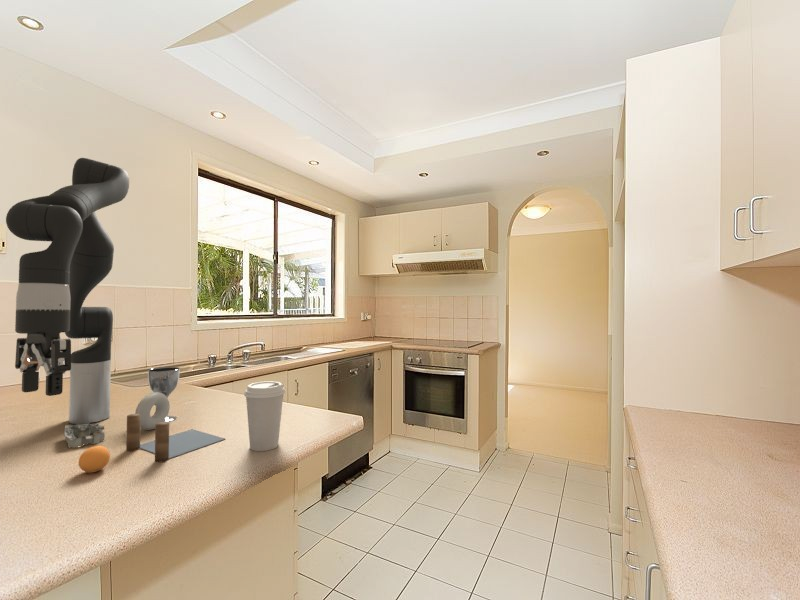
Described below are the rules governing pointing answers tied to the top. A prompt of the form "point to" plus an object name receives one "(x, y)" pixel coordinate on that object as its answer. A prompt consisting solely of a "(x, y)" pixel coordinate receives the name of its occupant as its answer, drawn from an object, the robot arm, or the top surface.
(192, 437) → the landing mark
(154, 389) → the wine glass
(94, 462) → the ball
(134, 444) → the post
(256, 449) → the coffee cup
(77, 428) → the egg carton
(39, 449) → the top surface
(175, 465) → the top surface
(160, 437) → the post
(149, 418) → the donut
